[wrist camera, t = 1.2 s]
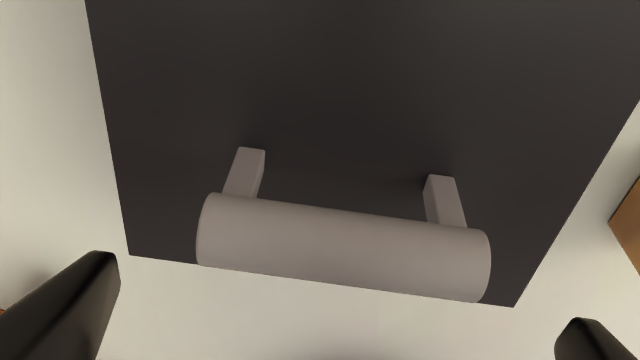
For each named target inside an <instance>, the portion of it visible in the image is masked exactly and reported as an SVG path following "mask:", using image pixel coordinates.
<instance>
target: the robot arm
mask: <svg viewBox="0 0 640 360" xmlns="http://www.w3.org/2000/svg"><path fill="white" fill-rule="evenodd" d="M120 285H121V280H120V274H119V269H118V264H117V259H116V256H115V255H114V254H113V253H111V252H105V251H98V250H94V251H91V252H89V253H87V254H86V255H84V256H83V257H81V258H80V259H78V260H77V261H75V262H74V263H73V264H71V265H70V266H68V267H67V268H65V269H64V270H63V271H61V272H60V273H58V274H57V275H55V276H54V277H53V278H51V279H50V280H48V281H47V282H45V283H44V284H43V285H41V286H40V287H38V288H37V289H35V290H34V291H33V292H31V293H30V294H28V295H27V296H25V297H24V298H23V299H21V300H20V301H18V302H17V303H15V304H14V305H13V306H11V307H10V308H8V309H7V310H5V311H4V312H3V313H1V314H0V360H95V359H96V356H97V353H98V350H99V348H100V345H101V342H102V339H103V336H104V334H105V331H106V328H107V325H108V322H109V319H110V317H111V314H112V311H113V308H114V305H115V303H116V300H117V297H118V294H119V291H120ZM554 354H555V360H638V359H637V358H636V357H635V356H634V355H633V354H632V353H630V352H629V351H628V350H627V349H626V348H625V347H624V346H623V345H622V344H621V343H620V342H619V341H618V340H617V339H616V338H615V337H614V336H613V335H612V334H611V333H610V332H609V331H608V330H607V329H606V328H605V327H604V326H603V325H602V324H601V323H599V322H598V321H596V320H593V319H587V318H580V317H575V318H573V319H572V320H571V321H570V322H569V323H568V325H567V326H566V327H565V329H564V330H563V331H562V333H561V334H560V336H559V337H558V338H557V340H556V342H555V346H554Z"/></svg>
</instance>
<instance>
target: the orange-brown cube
mask: <svg viewBox="0 0 640 360" xmlns="http://www.w3.org/2000/svg"><path fill="white" fill-rule="evenodd" d="M608 225H609V227H610V229H611V230H612V232H613V233H614V235H615V237H616V238H617V240H618V241H619V243H620V245H621V246H622V248H623V249H624V251H625V253H626V254H627V256H628V258H629V259H630V261H631V262H632V264H633V266H634V267H635V269H636V270H637V272H638V274H639V275H640V178H639V179H638V180H637V182H636V183H635V185H634V186H633V188H632V189H631V191H630V192H629V194H628V195H627V197H626V198H625V199H624V201H623V202H622V204H621V205H620V207H619V208H618V210H617V211H616V213H615V214H614V216H613V217H612V218H611V220H610V221H609V223H608Z"/></svg>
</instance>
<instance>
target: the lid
mask: <svg viewBox="0 0 640 360" xmlns="http://www.w3.org/2000/svg"><path fill="white" fill-rule="evenodd" d="M85 5H86V11H87V17H88V22H89V28H90V34H91V40H92V45H93V51H94V57H95V62H96V68H97V74H98V80H99V85H100V91H101V97H102V102H103V108H104V114H105V120H106V125H107V131H108V137H109V143H110V148H111V154H112V160H113V165H114V171H115V177H116V183H117V188H118V194H119V200H120V205H121V211H122V217H123V223H124V228H125V234H126V240H127V246H128V251H129V255H132V256H139V257H147V258H154V259H161V260H169V261H176V262H183V263H191V264H198V265H201V266H206V267H214V268H221V269H228V270H236V271H243V272H250V273H258V274H265V275H272V276H279V277H287V278H294V279H301V280H309V281H316V282H323V283H330V284H338V285H345V286H352V287H360V288H367V289H374V290H382V291H389V292H396V293H403V294H411V295H418V296H425V297H433V298H440V299H447V300H455V301H462V302H469V303H482V304H490V305H497V306H504V307H511V308H513V307H514V306H515V304H516V303H517V301H518V299H519V298H520V296H521V294H522V293H523V291H524V290H525V288H526V286H527V285H528V283H529V281H530V280H531V278H532V276H533V275H534V273H535V271H536V270H537V268H538V266H539V265H540V263H541V262H542V260H543V258H544V257H545V255H546V253H547V252H548V250H549V248H550V247H551V245H552V243H553V242H554V240H555V238H556V237H557V235H558V234H559V232H560V230H561V229H562V227H563V225H564V224H565V222H566V220H567V219H568V217H569V215H570V214H571V212H572V210H573V209H574V207H575V206H576V204H577V202H578V201H579V199H580V197H581V196H582V194H583V192H584V191H585V189H586V187H587V186H588V184H589V182H590V181H591V179H592V178H593V176H594V174H595V173H596V171H597V169H598V168H599V166H600V164H601V163H602V161H603V159H604V158H605V156H606V154H607V153H608V151H609V150H610V148H611V146H612V145H613V143H614V141H615V140H616V138H617V136H618V135H619V133H620V131H621V130H622V128H623V126H624V125H625V123H626V122H627V120H628V118H629V117H630V115H631V113H632V112H633V110H634V108H635V107H636V105H637V103H638V102H639V100H640V0H85Z"/></svg>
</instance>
